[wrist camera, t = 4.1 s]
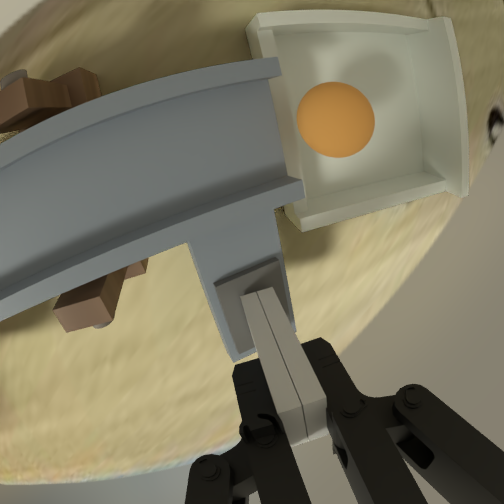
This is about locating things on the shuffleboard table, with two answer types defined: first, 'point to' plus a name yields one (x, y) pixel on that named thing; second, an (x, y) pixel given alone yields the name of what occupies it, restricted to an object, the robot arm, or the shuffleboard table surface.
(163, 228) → the lever
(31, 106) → the fulcrum
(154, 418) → the shuffleboard table surface
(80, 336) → the shuffleboard table surface
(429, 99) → the tray
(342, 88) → the ball
